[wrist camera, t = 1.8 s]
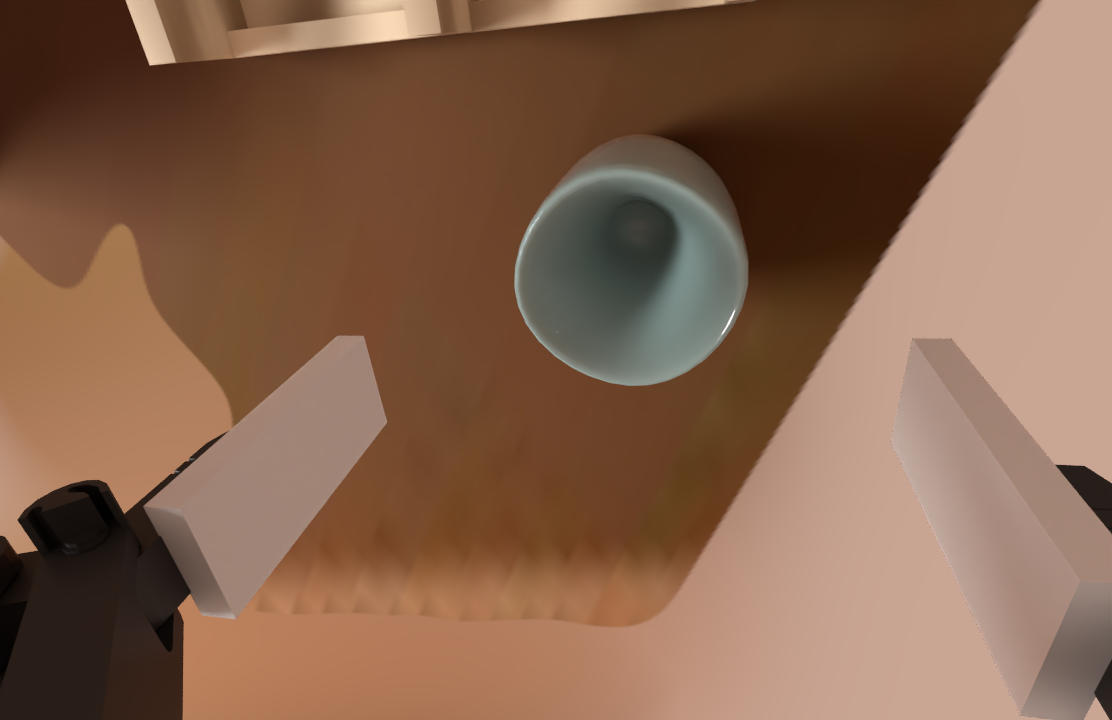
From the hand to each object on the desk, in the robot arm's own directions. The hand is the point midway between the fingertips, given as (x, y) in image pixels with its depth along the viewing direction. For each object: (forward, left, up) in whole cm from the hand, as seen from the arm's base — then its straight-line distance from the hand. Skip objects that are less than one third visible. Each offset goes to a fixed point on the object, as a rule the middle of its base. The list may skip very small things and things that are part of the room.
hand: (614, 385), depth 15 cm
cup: (0, 0, -16) cm, 16 cm away
